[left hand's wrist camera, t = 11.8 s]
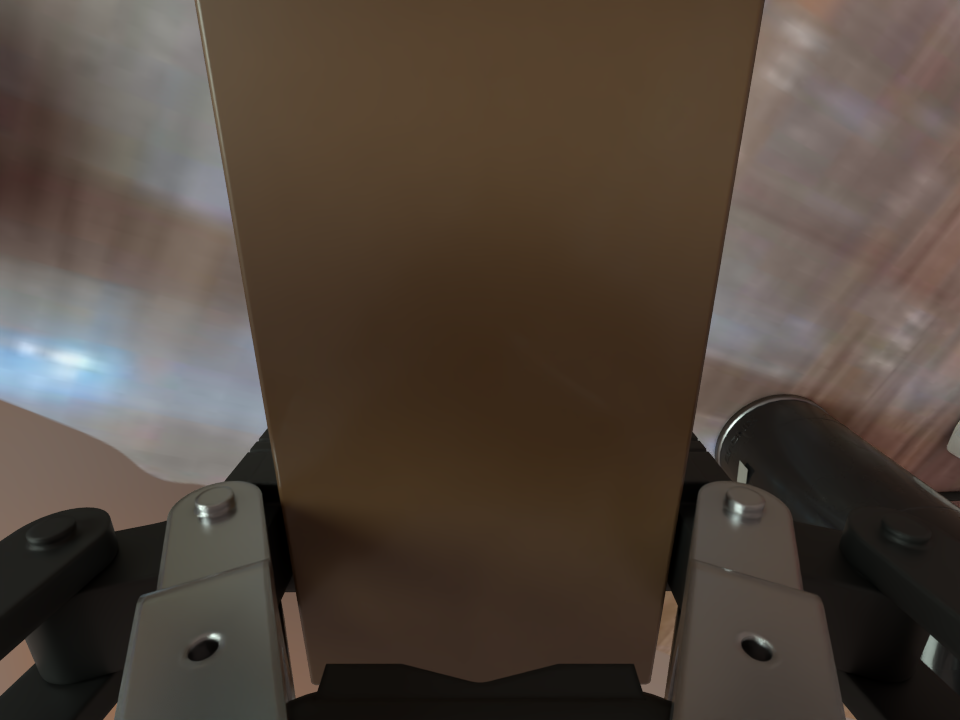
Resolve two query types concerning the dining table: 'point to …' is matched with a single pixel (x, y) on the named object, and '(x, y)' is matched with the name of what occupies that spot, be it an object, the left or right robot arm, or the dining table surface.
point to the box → (480, 307)
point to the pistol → (955, 442)
